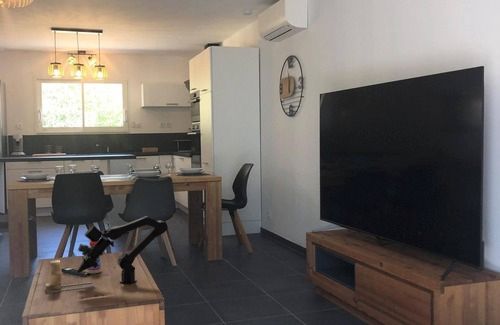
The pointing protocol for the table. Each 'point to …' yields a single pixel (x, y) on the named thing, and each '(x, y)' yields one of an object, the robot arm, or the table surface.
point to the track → (73, 288)
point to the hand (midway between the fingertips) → (77, 272)
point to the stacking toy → (98, 268)
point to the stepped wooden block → (54, 276)
